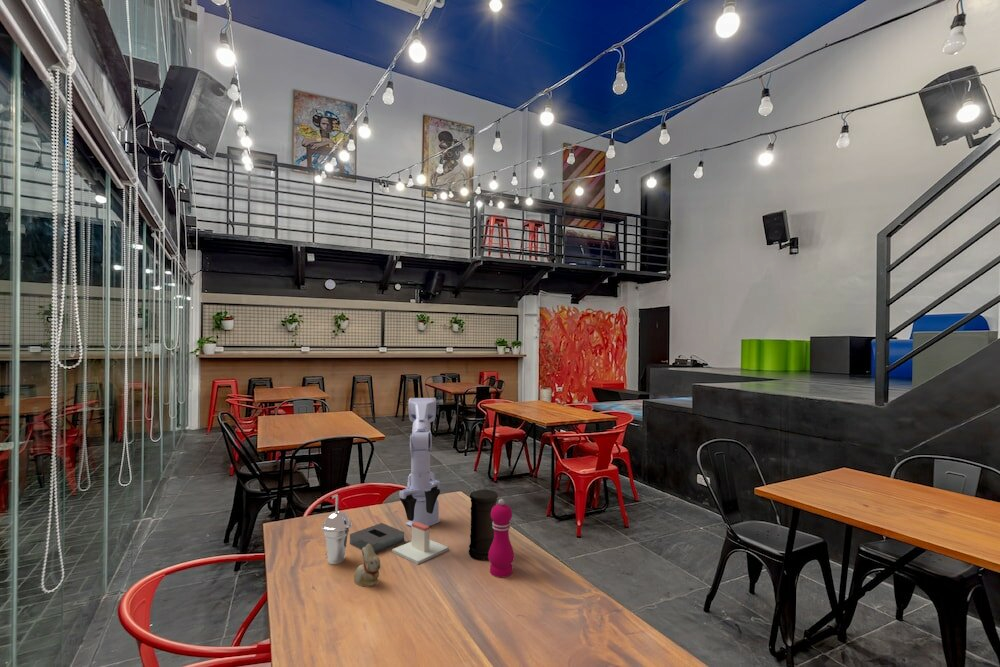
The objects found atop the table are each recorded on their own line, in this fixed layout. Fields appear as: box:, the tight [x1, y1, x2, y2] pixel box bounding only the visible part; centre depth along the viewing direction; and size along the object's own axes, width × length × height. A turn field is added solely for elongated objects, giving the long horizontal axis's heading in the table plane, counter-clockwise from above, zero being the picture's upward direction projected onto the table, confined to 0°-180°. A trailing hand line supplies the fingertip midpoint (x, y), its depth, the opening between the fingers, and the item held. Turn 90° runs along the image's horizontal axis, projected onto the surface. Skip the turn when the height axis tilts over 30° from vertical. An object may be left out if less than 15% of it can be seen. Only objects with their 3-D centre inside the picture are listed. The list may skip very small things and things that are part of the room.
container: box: [468, 489, 499, 561], centre depth 136 cm, size 9×9×18 cm
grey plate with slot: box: [349, 522, 405, 555], centre depth 143 cm, size 12×12×3 cm
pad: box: [391, 539, 449, 565], centre depth 137 cm, size 12×12×1 cm
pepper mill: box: [488, 498, 515, 578], centre depth 125 cm, size 7×7×20 cm
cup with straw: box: [320, 493, 353, 565], centre depth 131 cm, size 8×9×20 cm
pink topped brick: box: [411, 522, 431, 552], centre depth 138 cm, size 2×6×7 cm, turn 50°
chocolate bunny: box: [353, 544, 381, 588], centre depth 119 cm, size 6×8×10 cm
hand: (420, 516), depth 138 cm, fingers open, 7 cm apart
